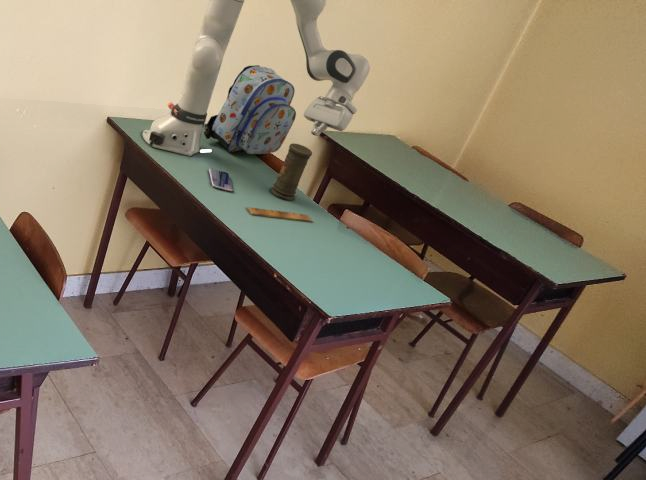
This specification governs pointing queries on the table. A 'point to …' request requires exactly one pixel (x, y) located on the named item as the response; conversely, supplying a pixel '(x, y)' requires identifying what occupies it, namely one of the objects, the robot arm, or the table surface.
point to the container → (291, 172)
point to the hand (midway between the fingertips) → (314, 134)
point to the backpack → (254, 113)
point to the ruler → (279, 214)
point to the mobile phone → (220, 180)
